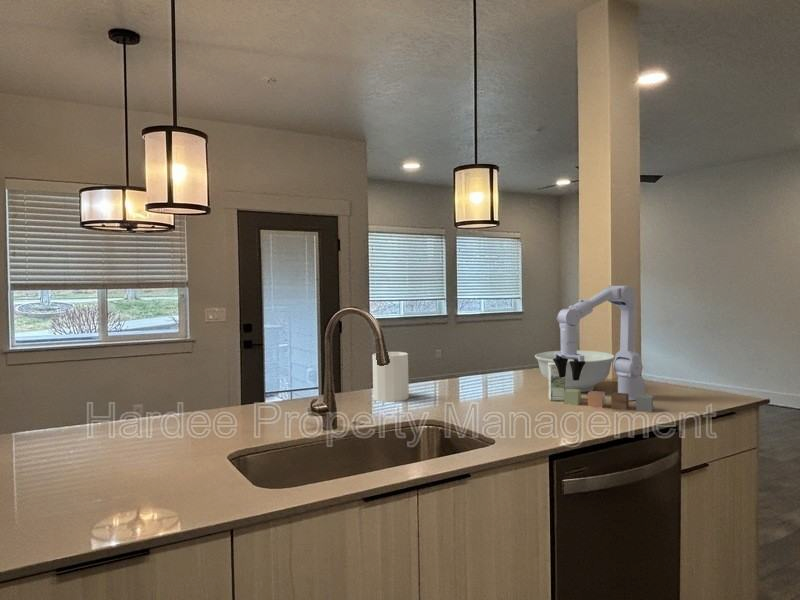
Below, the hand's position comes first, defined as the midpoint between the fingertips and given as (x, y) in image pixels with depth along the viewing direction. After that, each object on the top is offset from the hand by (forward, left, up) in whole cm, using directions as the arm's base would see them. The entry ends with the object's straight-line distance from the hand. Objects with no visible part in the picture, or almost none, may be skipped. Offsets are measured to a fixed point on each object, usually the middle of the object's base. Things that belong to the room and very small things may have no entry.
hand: (569, 378), depth 206 cm
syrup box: (-3, -11, -10) cm, 15 cm away
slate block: (-19, +17, -10) cm, 27 cm away
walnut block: (-14, +10, -10) cm, 20 cm away
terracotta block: (-9, +4, -10) cm, 14 cm away
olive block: (-4, -3, -10) cm, 11 cm away
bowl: (-23, -25, -10) cm, 35 cm away
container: (+53, -45, -10) cm, 70 cm away
